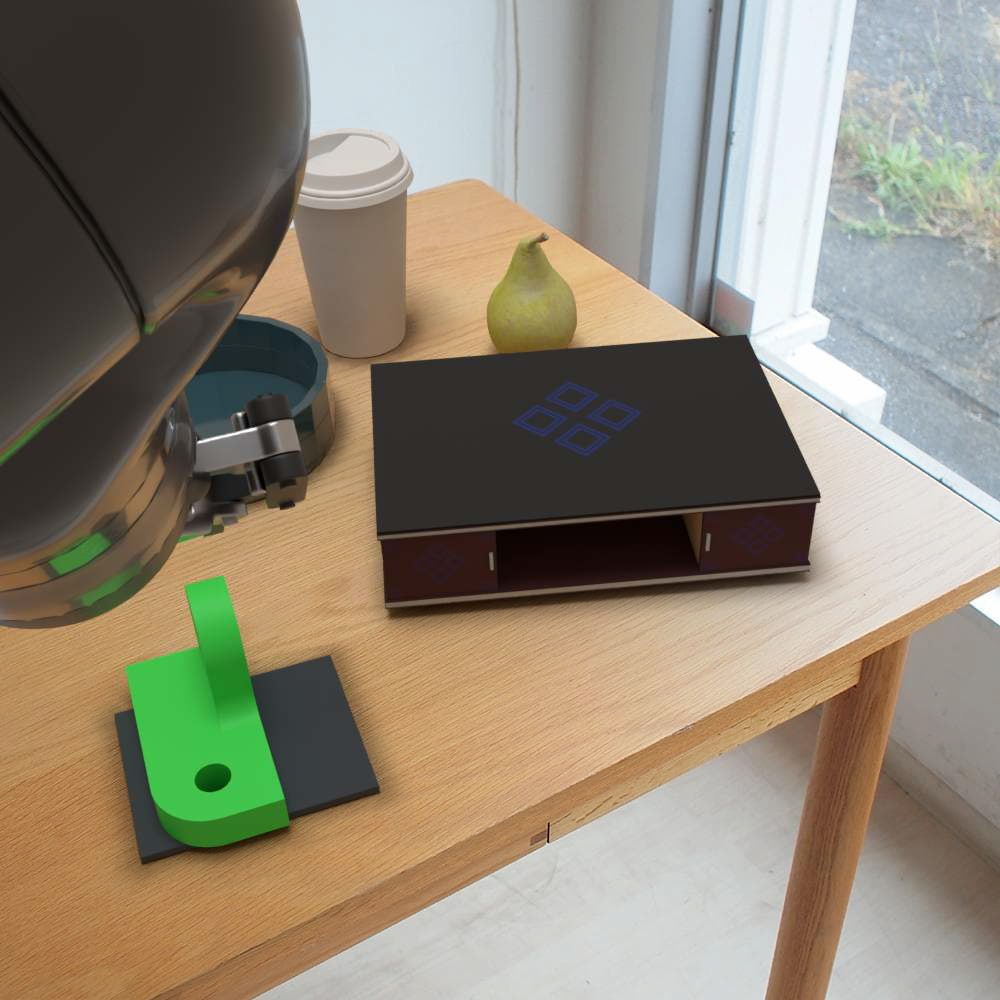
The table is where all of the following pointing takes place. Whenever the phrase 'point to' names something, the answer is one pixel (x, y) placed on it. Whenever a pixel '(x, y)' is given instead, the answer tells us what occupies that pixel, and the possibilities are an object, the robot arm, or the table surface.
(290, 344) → the pot
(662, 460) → the miniature tv stand
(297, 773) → the mat
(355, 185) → the coffee cup
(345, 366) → the table surface
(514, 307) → the fruit
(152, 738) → the mechanical part
